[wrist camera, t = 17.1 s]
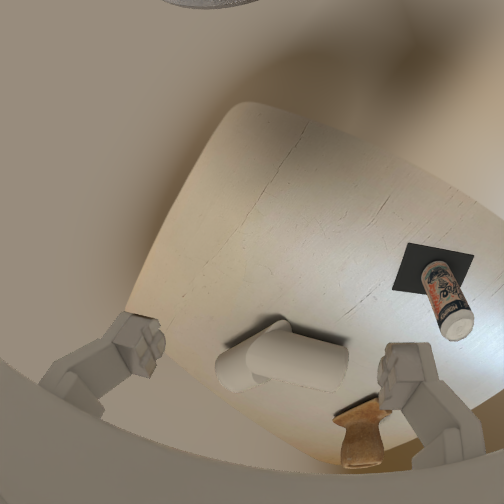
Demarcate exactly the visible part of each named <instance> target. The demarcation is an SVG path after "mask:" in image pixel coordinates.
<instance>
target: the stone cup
mask: <svg viewBox="0 0 504 504" xmlns="http://www.w3.org/2000/svg"><path fill="white" fill-rule="evenodd" d="M391 413H392V410H379V398H374V399H372V400H370V401H368V402H366V403H363V404H361V405H359V406H357V407H355V408H352V409H350V410H348V411H346V412H344V413H342V414H340V415H338V416H336V417H335V418H334V419H333V422H334V423H335V424H337V425H339V426H342V427H345V428H346V435H345V438H344V441H343V443H342V448H341V465H342V466H343V467H344V468H366V467H371V466H375V465H378V464H380V463H381V462H382V461H383V455H384V447H383V443H382V440H381V436H380V432H379V427H378V425H379V422H380V420H381V419H383V418H384V417H386V416H388V415H389V414H391Z"/></svg>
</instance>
